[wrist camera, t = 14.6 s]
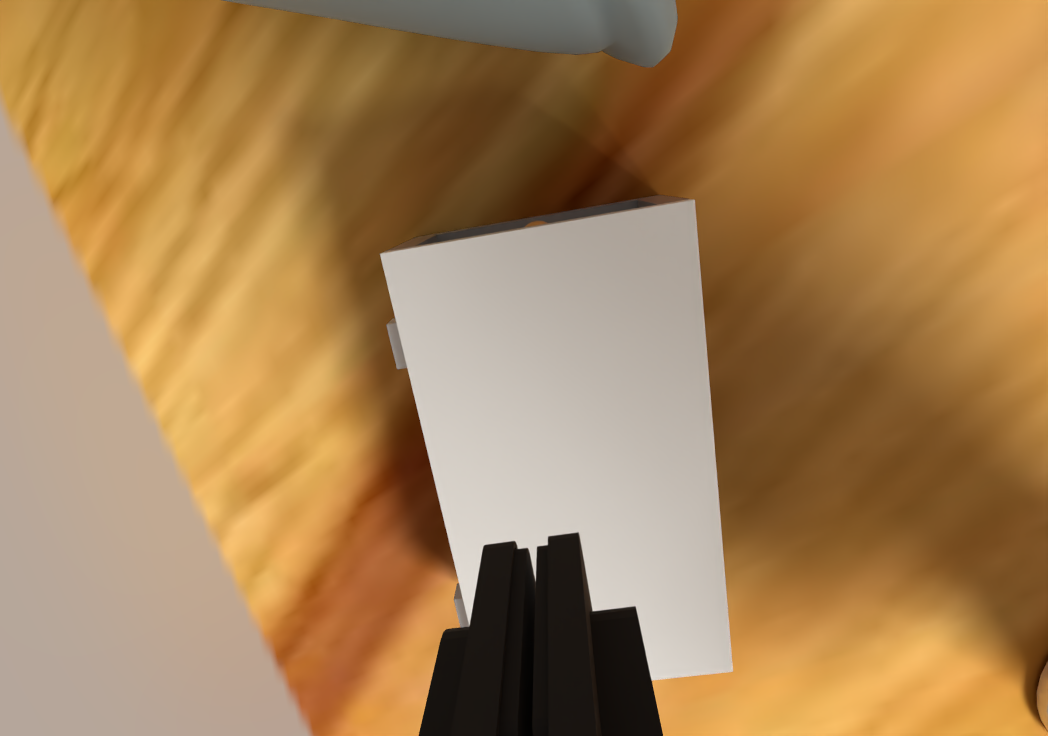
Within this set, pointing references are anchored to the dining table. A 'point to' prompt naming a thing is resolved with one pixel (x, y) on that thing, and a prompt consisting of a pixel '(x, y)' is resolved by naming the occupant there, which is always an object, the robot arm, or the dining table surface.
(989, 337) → the dining table surface
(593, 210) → the cable duct
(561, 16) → the pencil case
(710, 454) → the plate
